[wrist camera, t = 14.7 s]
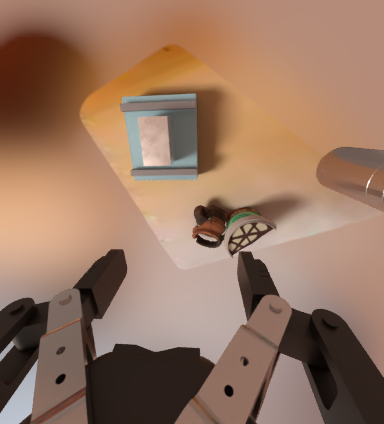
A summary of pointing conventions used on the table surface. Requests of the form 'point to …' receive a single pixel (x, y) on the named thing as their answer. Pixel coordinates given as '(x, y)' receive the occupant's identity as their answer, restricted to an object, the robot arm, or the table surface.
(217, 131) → the table surface
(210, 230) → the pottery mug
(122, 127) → the table surface
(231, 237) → the food container
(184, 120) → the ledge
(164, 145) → the block
